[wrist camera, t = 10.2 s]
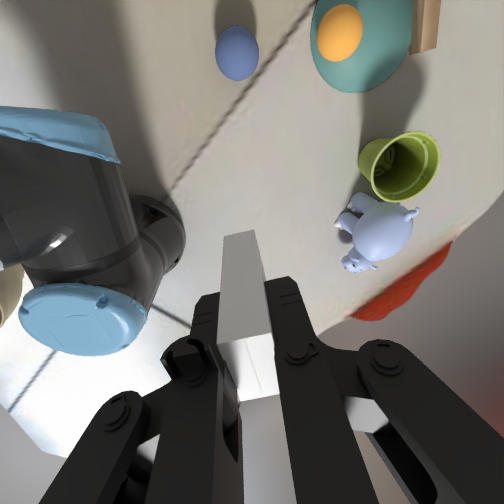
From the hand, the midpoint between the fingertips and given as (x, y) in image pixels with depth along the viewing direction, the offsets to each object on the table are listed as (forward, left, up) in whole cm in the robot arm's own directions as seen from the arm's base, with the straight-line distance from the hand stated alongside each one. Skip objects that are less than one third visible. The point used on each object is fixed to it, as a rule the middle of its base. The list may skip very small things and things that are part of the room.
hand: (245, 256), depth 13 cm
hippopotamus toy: (+20, -18, -33) cm, 42 cm away
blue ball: (+3, +12, -30) cm, 32 cm away
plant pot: (+22, -6, -33) cm, 40 cm away
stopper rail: (+28, +11, -32) cm, 44 cm away
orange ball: (+16, +11, -30) cm, 35 cm away
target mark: (+20, +11, -32) cm, 40 cm away
